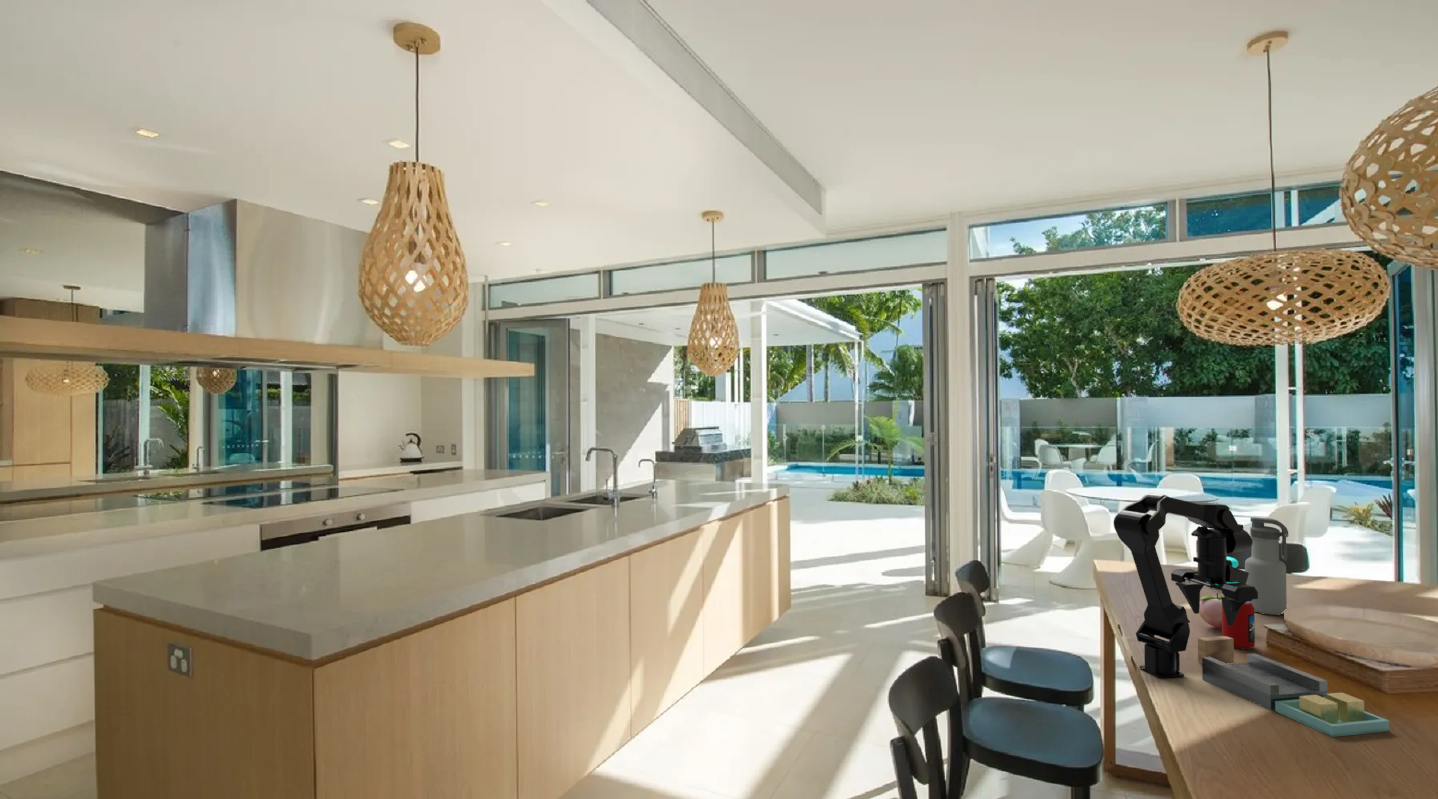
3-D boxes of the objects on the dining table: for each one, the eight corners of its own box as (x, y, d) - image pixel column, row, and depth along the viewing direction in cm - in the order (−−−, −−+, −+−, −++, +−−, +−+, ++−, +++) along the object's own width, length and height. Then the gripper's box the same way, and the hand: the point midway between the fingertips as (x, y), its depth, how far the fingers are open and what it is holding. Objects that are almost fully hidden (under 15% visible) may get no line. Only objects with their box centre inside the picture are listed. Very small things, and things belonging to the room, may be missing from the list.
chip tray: (1332, 737, 127) (1332, 726, 127) (1275, 711, 138) (1275, 701, 138) (1389, 731, 129) (1388, 720, 129) (1328, 706, 140) (1328, 696, 140)
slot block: (1270, 710, 138) (1270, 685, 138) (1202, 679, 154) (1202, 657, 154) (1327, 705, 141) (1327, 680, 141) (1254, 675, 156) (1254, 653, 157)
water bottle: (1285, 609, 207) (1284, 518, 207) (1291, 618, 198) (1290, 522, 199) (1243, 604, 212) (1242, 515, 213) (1247, 612, 204) (1246, 519, 204)
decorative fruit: (1225, 624, 193) (1224, 589, 193) (1244, 633, 185) (1244, 597, 185) (1190, 623, 194) (1189, 588, 194) (1208, 632, 186) (1207, 596, 186)
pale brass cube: (1299, 716, 134) (1320, 725, 131) (1299, 696, 135) (1320, 704, 131) (1316, 714, 135) (1337, 724, 131) (1316, 694, 135) (1337, 703, 131)
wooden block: (1205, 665, 162) (1205, 640, 162) (1198, 662, 164) (1197, 638, 164) (1233, 663, 164) (1233, 638, 164) (1226, 660, 166) (1226, 636, 166)
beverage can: (1260, 651, 172) (1260, 604, 172) (1230, 649, 173) (1230, 602, 173) (1245, 642, 178) (1245, 596, 178) (1216, 640, 180) (1216, 595, 180)
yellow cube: (1325, 714, 136) (1347, 723, 132) (1325, 693, 136) (1347, 702, 132) (1342, 712, 136) (1364, 721, 132) (1342, 692, 136) (1364, 700, 132)
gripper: (1277, 561, 156) (1278, 629, 156) (1206, 545, 175) (1207, 606, 175) (1236, 564, 154) (1237, 632, 154) (1169, 547, 173) (1169, 608, 173)
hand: (1212, 619), depth 164 cm, fingers open, 9 cm apart
